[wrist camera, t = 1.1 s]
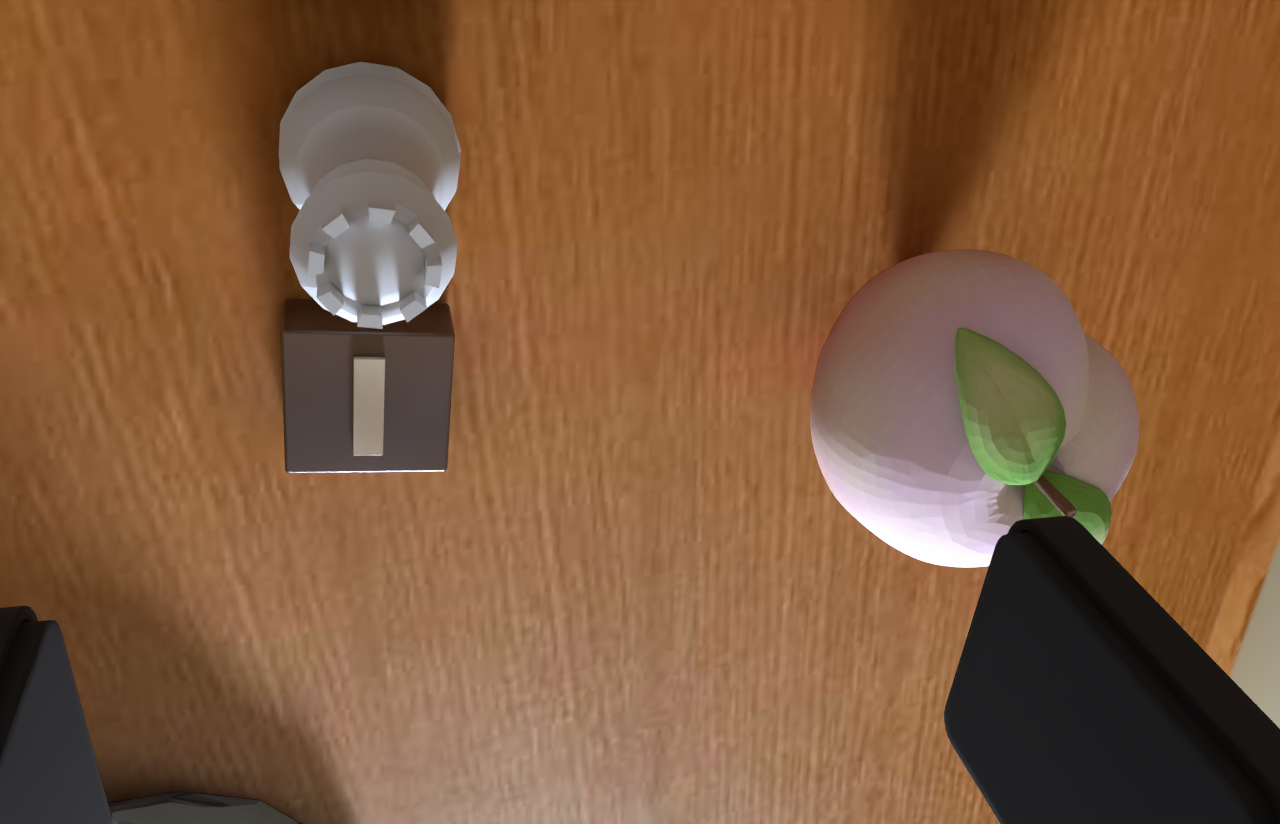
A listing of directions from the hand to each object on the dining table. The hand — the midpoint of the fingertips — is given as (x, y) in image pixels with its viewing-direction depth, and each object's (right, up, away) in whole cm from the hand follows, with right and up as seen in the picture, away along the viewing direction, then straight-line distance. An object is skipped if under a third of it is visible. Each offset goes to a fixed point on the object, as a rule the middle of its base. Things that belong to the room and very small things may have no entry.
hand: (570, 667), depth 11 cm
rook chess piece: (-6, +9, +16) cm, 20 cm away
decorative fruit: (+8, +5, +23) cm, 25 cm away
